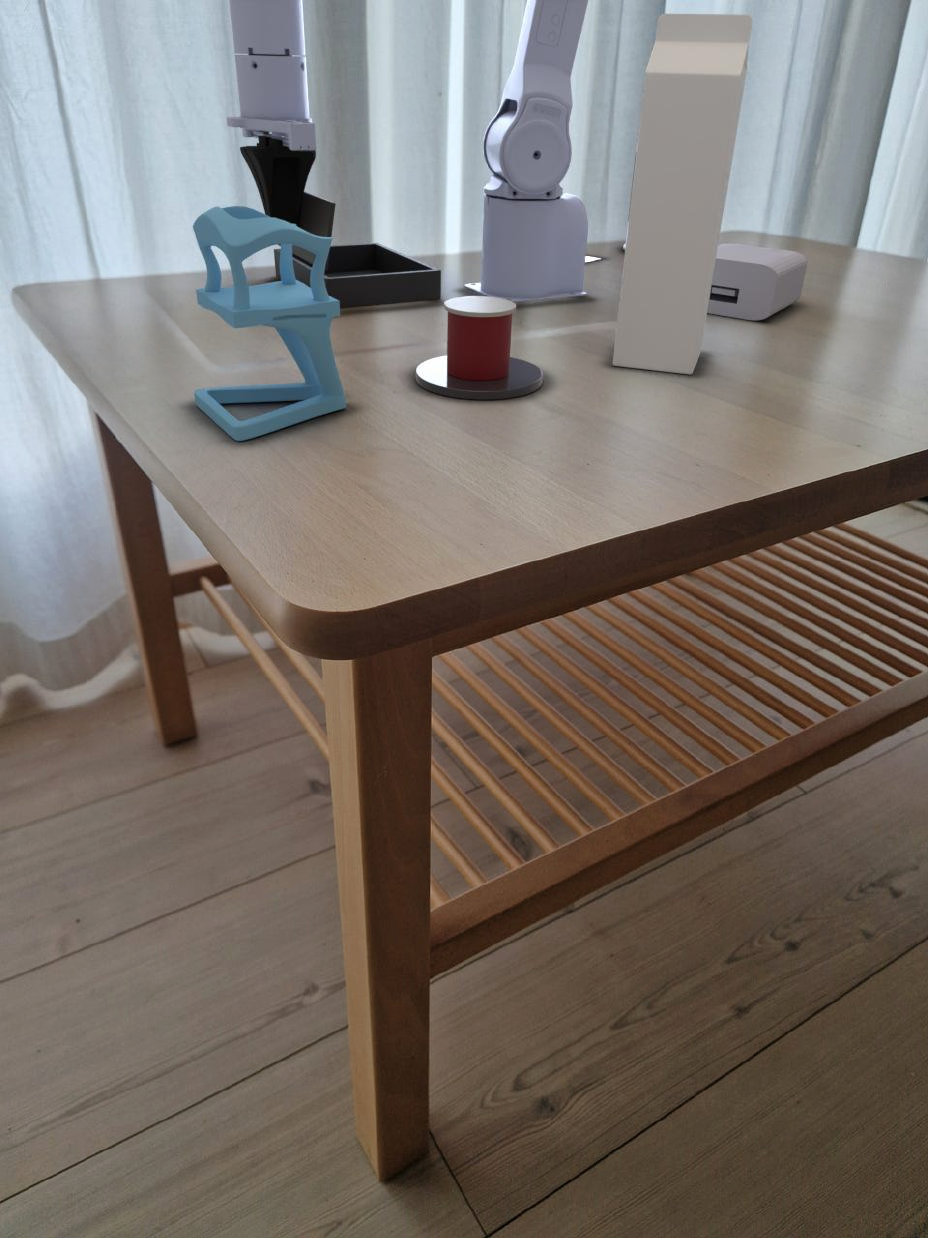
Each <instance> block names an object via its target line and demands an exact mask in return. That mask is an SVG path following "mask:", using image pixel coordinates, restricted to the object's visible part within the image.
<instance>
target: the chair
mask: <svg viewBox="0 0 928 1238" xmlns="http://www.w3.org/2000/svg"><path fill="white" fill-rule="evenodd" d="M192 229H193V232H194V235H195V238H196V242H197V244H198V248H199V250H200V253H201V255H202V258H203V261H204V263H205V267H206V282H205V286H204V288H195V293H196V301H197V305H199V306H200V307H202V308H203V309H206V310H208V311H210V312H211V311H212V312H213V313H215V314H216V315H217V316H219V317H220V319H222V320H223V321H224V323H226V324H227V325H229V326H230V327H232V328H233V329H243V328H250V327H258V326H264V327H269V328H274V329H275V331H276V332H277V334H278V336H280V338H281V340H282V341H283V344H284V345H285V346H286V348H287V350H288V352H289V353H290V355H291V357H292V359H293V361H294V363H295V364H296V366H297V368H298V369H299V371H300V373H301V375H302V377H303V379H304V382H303V381H302V382H295V383H293V382H291V383H276V384H275V383H274V384H252V385H232V386H231V385H230V386H215V387H204V388H203V387H202V388H198V389H195V390H194V392H193V395H194V399H195V404H196V407H197V408H198V409H200V410H201V411H202V412H203V413H204V414H205V415H206V416H207V417H209V418H210V419H211V421H212V422H214V423H215V424H216V425H217V426H218V427H220V429H222V430H223V431H224V432H225V433H226V434H227V435H228V436H229V437H231V438H232V439H233V441H236V442H242V441H247V440H251V439H254V438H257V437H260V436H264V435H266V434H269V433H273V432H276V431H278V430H281V429H284V428H286V427H290V426H293V425H295V424H299V423H301V422H304V421H307V420H310V419H313V418H316V417H320V416H322V415H326V414H329V413H333V412H336V411H340V410H344V409H346V408H347V401H346V394H345V391H344V387H343V384H342V380H341V377H340V373H339V371H338V367H337V363H336V359H335V355H334V351H333V345H332V340H331V326H332V325H331V324H332V322H333V320H334V319H335V318H337V317H340V316H341V309H340V301H339V300H337V299H335V298H333V297H331V296H328V293H327V291H326V287H325V283H324V270H325V265H326V261H327V257H328V253H329V249H330V246H332V242H333V237H320V236H316V235H313V234H310V233H308V232H307V231H305V230H303V229H301V228H299V227H297V226H296V224H291V223H289V222H286V221H284V220H281V219H277V218H271V217H269V216H267V215H265V213H263V212H261V211H259V210H257V209H254V208H251V207H248V206H242V205H232V206H226V207H220V206H214V207H211V208H209V209H208V210H206V211H204V212H203V213H201V214H199V216H198V217H197V218H196V219H195V221H194V223H193V224H192ZM277 244H281V246H280V249H281V251H280V275H281V279H280V280H278V281H272V282H267V283H261V284H255V285H254V284H253V285H249V283H248V278H247V275H246V272H245V268H244V266H243V262H244V261H245V260H246V259H248V258H251V256H253V255H255V254H256V253H258V252H260V251H262V250H265V249H266V248H269V247H271V246H276V245H277ZM292 245H295V246H299V247H301V248H304V249H306V250H308V251H310V252H312V253H314V254H315V255H316V258H315V261H314V264H313V267H312V270H311V275H310V285H311V288H310V287H308V286H307V285H305V284H304V283H302V282H300V281H297V280H296V279H295V275H294V269H293V261H292ZM277 246H278V245H277ZM212 247H216V248H218V249H219V250H220V251H221V252H222V253H223V254H224V255H225V257H226V258H227V260H228V263H229V266H230V271H231V276H232V282H233V283H232V284H233V286H222V271H221V267H220V264H219V261H218V259H217V257H216V255H215V253H214V251H213V249H212ZM290 401H291V402H292V401H297V402H295V403H292V404H289V405H286V406H283V407H279V408H277V409H274V410H271V411H269V412H266V413H263V414H260V415H257V416H254V417H250V418H247V419H245V420H239V419H237V418H236V417H235V416H234V415H232V414H231V413H230V412H229V411H228V409H226V408H225V407H223V406H222V404H242V403H264V402H265V403H266V402H290Z"/></svg>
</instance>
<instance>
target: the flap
mask: <svg viewBox="0 0 928 1238" xmlns="http://www.w3.org/2000/svg"><path fill="white" fill-rule="evenodd" d="M336 205H337V204H336V202H333V201H331V200H329V199H326V198H323V197H320V196H319V195H315V194H313V193H310V192H308V191H305V190H304V195H303V201H302V209H301V216H300V224H299V228H301V229H303V230H305V231H307V232H308V233H310V234H313V235H316V236H320V237H331V238H333V230H334V229H333V228H334V220H335V213H336V212H335V211H336ZM277 246H279V247H281V244H277ZM292 253H293V254H295V255H297V256H299V257H300V258H302V259H304V260H306V261H308V262H309V263H311V264H314V261H315V258H316V255H315V254H314V253H312V252H310V251H308V250H306V249H304V248H301V247H299V246H295V245H292ZM329 253H330V249H329ZM329 253H328V257H327V261H326V265H325V271H327V270H328V261H329Z"/></svg>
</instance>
